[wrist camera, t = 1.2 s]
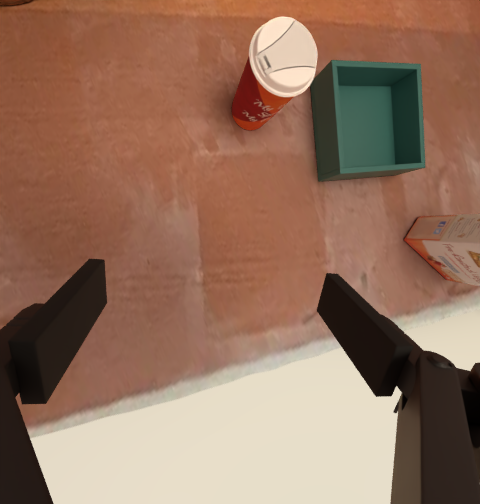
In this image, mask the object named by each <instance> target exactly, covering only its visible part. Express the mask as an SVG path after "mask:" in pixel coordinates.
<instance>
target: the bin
mask: <svg viewBox="0 0 480 504" xmlns="http://www.w3.org/2000/svg"><path fill="white" fill-rule="evenodd" d="M310 88H311V100H312V112H313V123H314V135H315V147H316V159H317V170H318V181H319V182H320V181H332V180H344V179H356V178H369V177H381V176H393V175H398V174H402V173H406V172H410V171H414V170H418V169H422V168H425V148H424V126H423V104H422V82H421V64H409V63H386V62H364V61H341V60H331V61H330V63H329V64H328V65H327V66H326V67H325V68H324V69H323V70H322V71H321V72H320V73H319V74H318V75H317V76H316V77H315V78H314V80H313V81H312V82H311V84H310Z"/></svg>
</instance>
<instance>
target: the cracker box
mask: <svg viewBox="0 0 480 504" xmlns="http://www.w3.org/2000/svg"><path fill="white" fill-rule="evenodd" d="M404 241H406V242H407V243H408V244H409V245H410V246H411V247H412V248H413V249H414V250H415V251H417V252H418V253H419V254H420V255H421V256H422V257H423V258H424V259H425V260H426V261H427V262H428V263H429V264H430V265H431V266H432V267H434V268H435V269H436V270H437V271H438V272H439V273H440V274H441V275H442V276H443V277H444V278H445V279H446V280H449V281H455V282H460V283H466V284H471V285H476V286H480V214H462V215H443V216H424V217H418V219H417V220H416V222H415V223H414V225H413V226H412V228H411V230H410V231H409V233H408V234H407V236H406V237H405V239H404Z"/></svg>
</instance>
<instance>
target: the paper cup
mask: <svg viewBox="0 0 480 504" xmlns="http://www.w3.org/2000/svg"><path fill="white" fill-rule="evenodd" d="M293 21H294V22H293ZM316 64H317V48H316V44H315V42H314V39H313V37H312V35H311V34H310V32H309V31H308V30H307V28H306V27H305V26H303V25H302V24H301V23H300V22H298V21H297V20H294V19H293V18H290V17H277V18H274V19H272V20H270V21H268V22H267V23H266V24H264V25H262V26H261V27H260V28H259V29H258V30H257V31H256V32H255V34H254V36H253V38H252V40H251V43H250V48H249V57H248V60H247V63H246V66H245V68H244V71H243V74H242V77H241V80H240V82H239V85H238V88H237V91H236V94H235V97H234V100H233V103H232V115H233V118H234V120H235V122H236V123H237V124H238V125H239V126H240V127H242V128H243V129H246V130H255V129H258V128H260V127H261V126H262V125H263V124H265V123H266V122H267V121H268V120H269V119H270V118H271V117H273V116H274V115H275V114H276V113H277V112H278V111H279V110H280V109H281V108H282V107H283V106H285V105H286V104H287V103H288V102H289V101H290V100H291V99H292V98H293V97H294V96H297V95H299V94H301V93H303V92H304V91H305V90H306V89H307V88H308V87H309V86H310V84H311V82H312V81H313V78H314V75H315V70H316Z"/></svg>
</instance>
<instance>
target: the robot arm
mask: <svg viewBox="0 0 480 504" xmlns="http://www.w3.org/2000/svg"><path fill="white" fill-rule="evenodd" d="M28 1H31V0H0V5H16V4H22V3H25V2H28ZM106 304H107V295H106V278H105V261H104V260H101V259H89V260H88V261H87V262H86V263H85V264H84V265H83V266H82V267H81V268H80V269H79V270H78V271H77V272H76V273H75V274H74V275H73V276H72V277H71V278H70V279H69V280H68V281H67V282H66V283H65V284H64V285H63V286H62V287H61V288H60V289H59V290H58V291H57V292H56V293H55V294H54V295H53V296H52V297H51V298H50V299H49V300H48V301H47V302H46V303H45V304H37V303H35V304H33V305H31V306H29V307H27V308H25V309H23V310H22V311H21V312H19V313H18V314H17V315H16V316H15V317H14V319H12V320H11V321H10V322H9V323H7V324H6V326H4V327H3V328H2V329H1V330H0V504H53V501H52V498H51V496H50V493H49V490H48V487H47V485H46V482H45V479H44V477H43V473H42V471H41V468H40V466H39V463H38V460H37V457H36V454H35V451H34V448H33V446H32V443H31V440H30V437H29V434H28V432H27V429H26V426H25V423H24V421H23V418H22V415H21V412H20V409H19V407H18V404H17V401H16V398H15V397H16V396H17V395H18V393H20V397H21V402H22V404H46V403H47V401H48V400H49V398H50V396H51V395H52V393H53V391H54V390H55V388H56V386H57V385H58V383H59V381H60V380H61V378H62V376H63V375H64V373H65V371H66V370H67V368H68V366H69V365H70V363H71V361H72V360H73V358H74V357H75V355H76V353H77V352H78V350H79V348H80V347H81V345H82V343H83V342H84V340H85V338H86V337H87V335H88V333H89V332H90V330H91V328H92V327H93V325H94V323H95V322H96V320H97V318H98V317H99V315H100V314H101V312H102V310H103V309H104V307H105V305H106ZM317 312H318V313H319V315H320V316H321V317H322V319H323V320H324V322H325V323H326V325H327V326H328V328H329V329H330V330H331V332H332V333H333V335H334V336H335V338H336V339H337V341H338V342H339V344H340V345H341V346H342V348H343V349H344V351H345V352H346V354H347V355H348V357H349V358H350V360H351V361H352V362H353V364H354V365H355V367H356V368H357V370H358V371H359V372H360V374H361V376H362V377H363V378H364V380H365V381H366V383H367V384H368V386H369V387H370V389H371V390H372V392H373V393H374V394H375V396H376V397H377V396H392V394H393V392H394V389H395V387H396V386H398V388H399V389H400V391H401V392H402V394H401V396H400V399H399V401H398V403H397V405H396V407H395V410H394V413H397V411H398V420H397V432H396V444H395V457H394V469H393V480H392V492H391V504H480V483H479V482H480V363H475V365H474V366H473V368H472V369H471V371H467V370H463V369H458V368H456V367H455V366H454V364H453V363H451V361H449V360H448V359H447V358H445V357H443V356H441V355H439V354H437V353H434V352H431V351H423V350H422V349H421V348H420V347H419V346H418V345H417V344H416V343H415V342H414V341H413V340H412V339H411V338H410V337H409V336H407V335H406V334H404V332H403V331H402V330H401V329H400V328H399V327H398V326H397V325H396V324H395V323H394V322H392V321H391V320H390V319H388V318H386V317H385V316H383V315H380V314H379V313H378V312H377V311H376V310H375V309H374V308H373V307H372V306H371V305H370V304H369V303H368V302H367V301H366V300H365V299H363V298H362V297H361V296H360V295H359V294H358V293H357V292H356V291H355V290H354V289H353V288H352V287H351V286H350V285H349V284H348V283H347V282H346V281H345V280H344V279H343V278H342V277H340V276H339V275H338V274H331V273H327V274H326V277H325V281H324V285H323V289H322V292H321V296H320V300H319V304H318V307H317Z"/></svg>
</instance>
